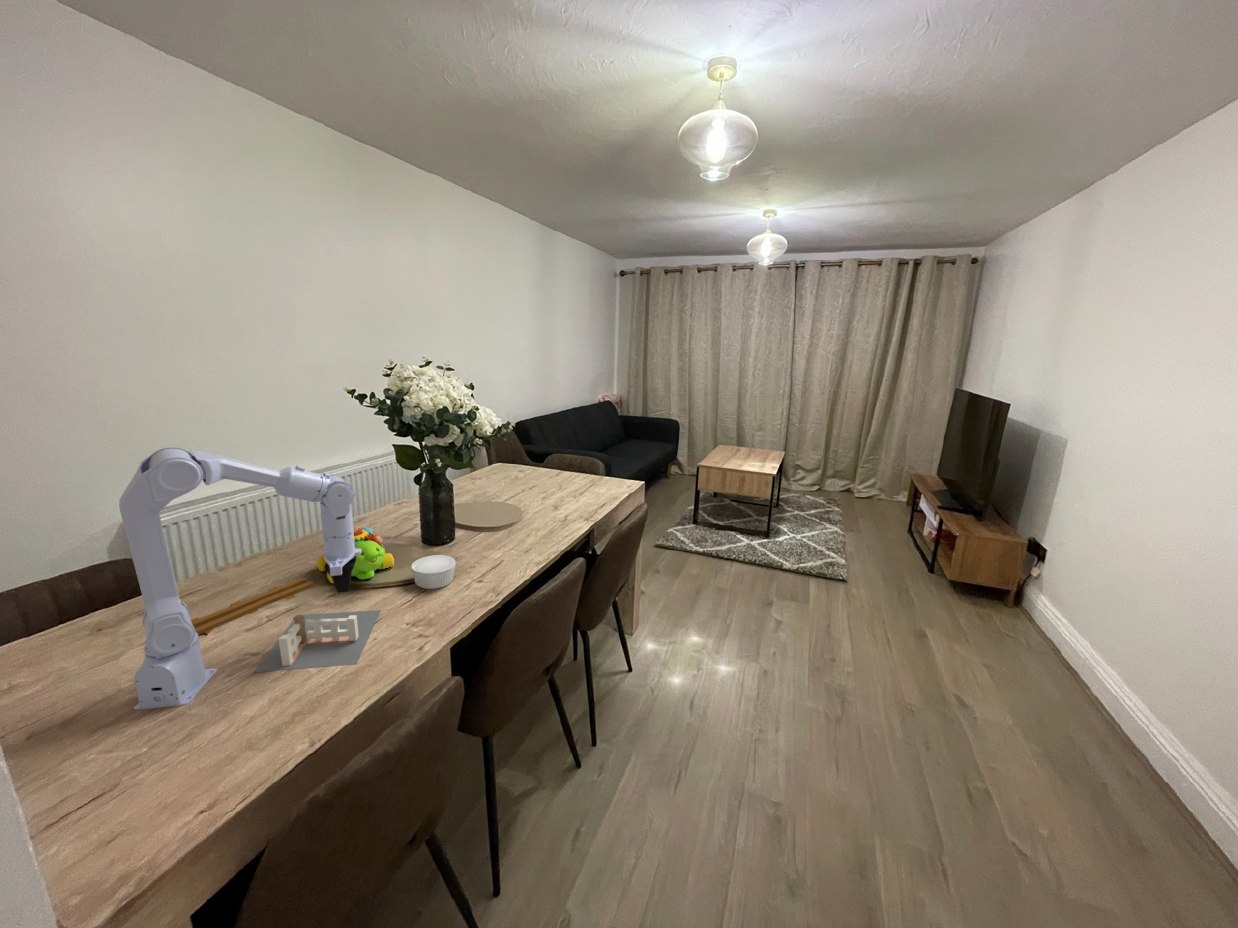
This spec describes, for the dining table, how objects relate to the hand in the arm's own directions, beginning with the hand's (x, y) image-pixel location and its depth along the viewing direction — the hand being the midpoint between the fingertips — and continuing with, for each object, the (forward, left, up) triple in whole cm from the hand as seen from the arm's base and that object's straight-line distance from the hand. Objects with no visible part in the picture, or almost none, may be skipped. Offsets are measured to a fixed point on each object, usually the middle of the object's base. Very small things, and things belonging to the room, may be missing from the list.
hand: (343, 590), depth 107 cm
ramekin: (+21, -16, -10) cm, 28 cm away
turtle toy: (+28, +5, -10) cm, 30 cm away
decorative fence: (+12, +23, -10) cm, 28 cm away
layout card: (-3, +3, -10) cm, 11 cm away
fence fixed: (-8, +7, -9) cm, 14 cm away
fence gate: (-5, +1, -9) cm, 10 cm away
